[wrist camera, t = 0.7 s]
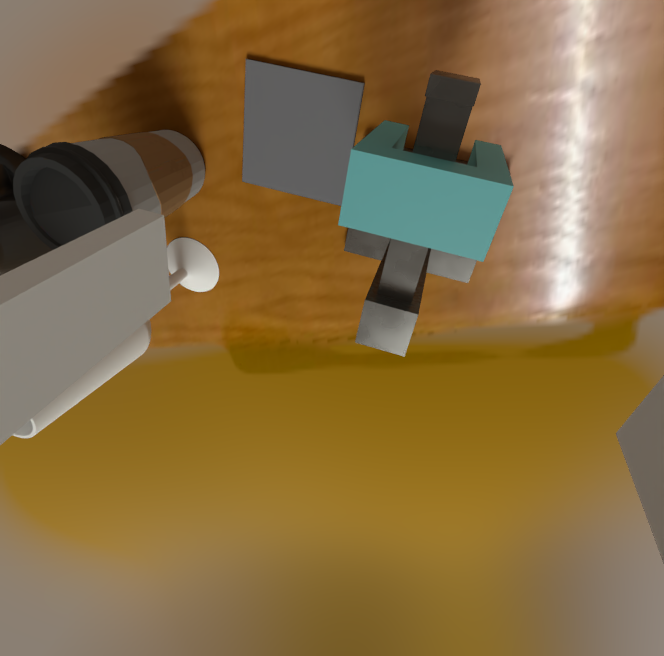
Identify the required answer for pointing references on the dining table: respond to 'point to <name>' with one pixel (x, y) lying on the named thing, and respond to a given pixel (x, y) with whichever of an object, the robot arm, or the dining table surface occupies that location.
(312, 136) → the mat
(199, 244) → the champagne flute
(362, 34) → the dining table surface
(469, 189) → the u-shaped block
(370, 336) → the stand
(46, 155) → the coffee cup
